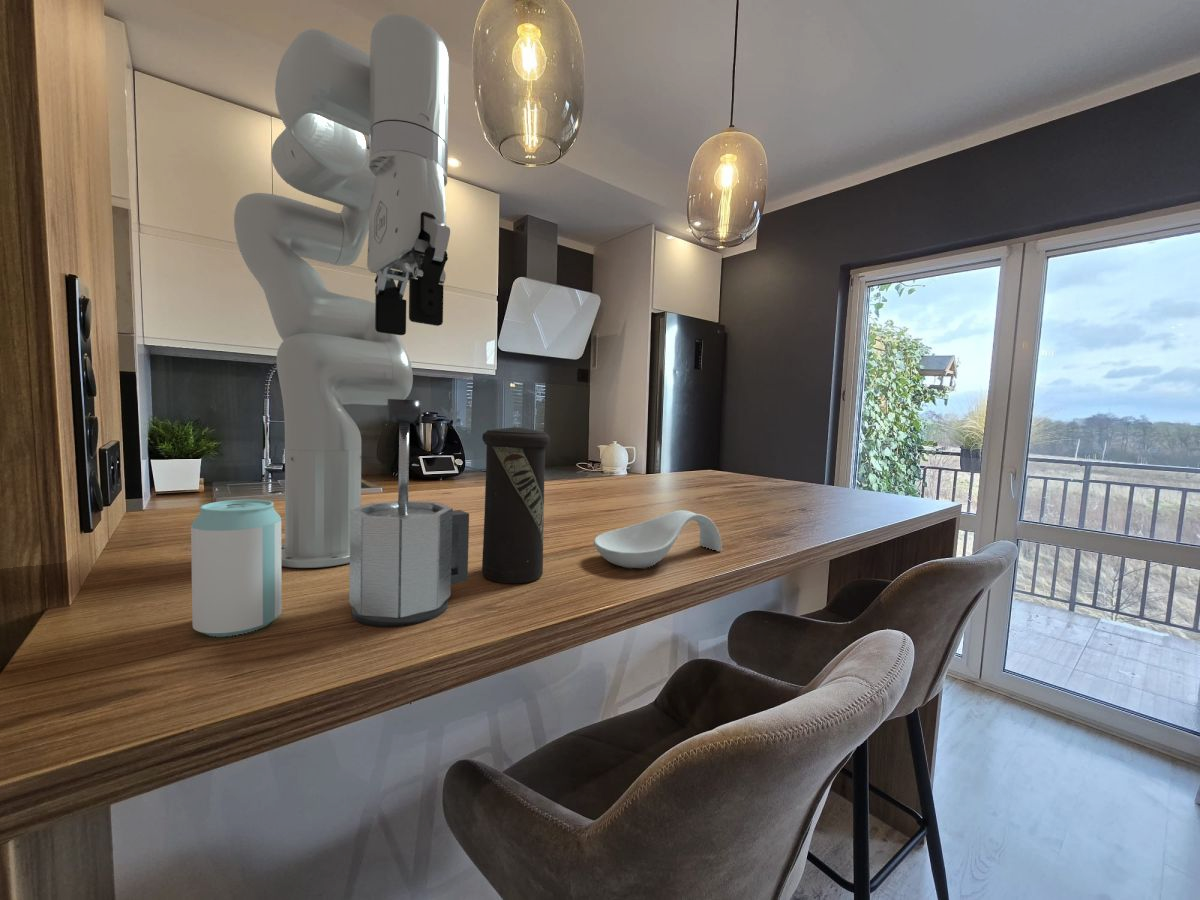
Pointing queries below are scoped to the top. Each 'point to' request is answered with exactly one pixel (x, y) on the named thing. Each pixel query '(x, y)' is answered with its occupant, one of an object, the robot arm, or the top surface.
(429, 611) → the octagonal grey mug
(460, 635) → the top surface
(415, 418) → the plunger
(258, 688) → the top surface
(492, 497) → the container
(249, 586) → the can
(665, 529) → the spoon rest
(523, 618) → the top surface
